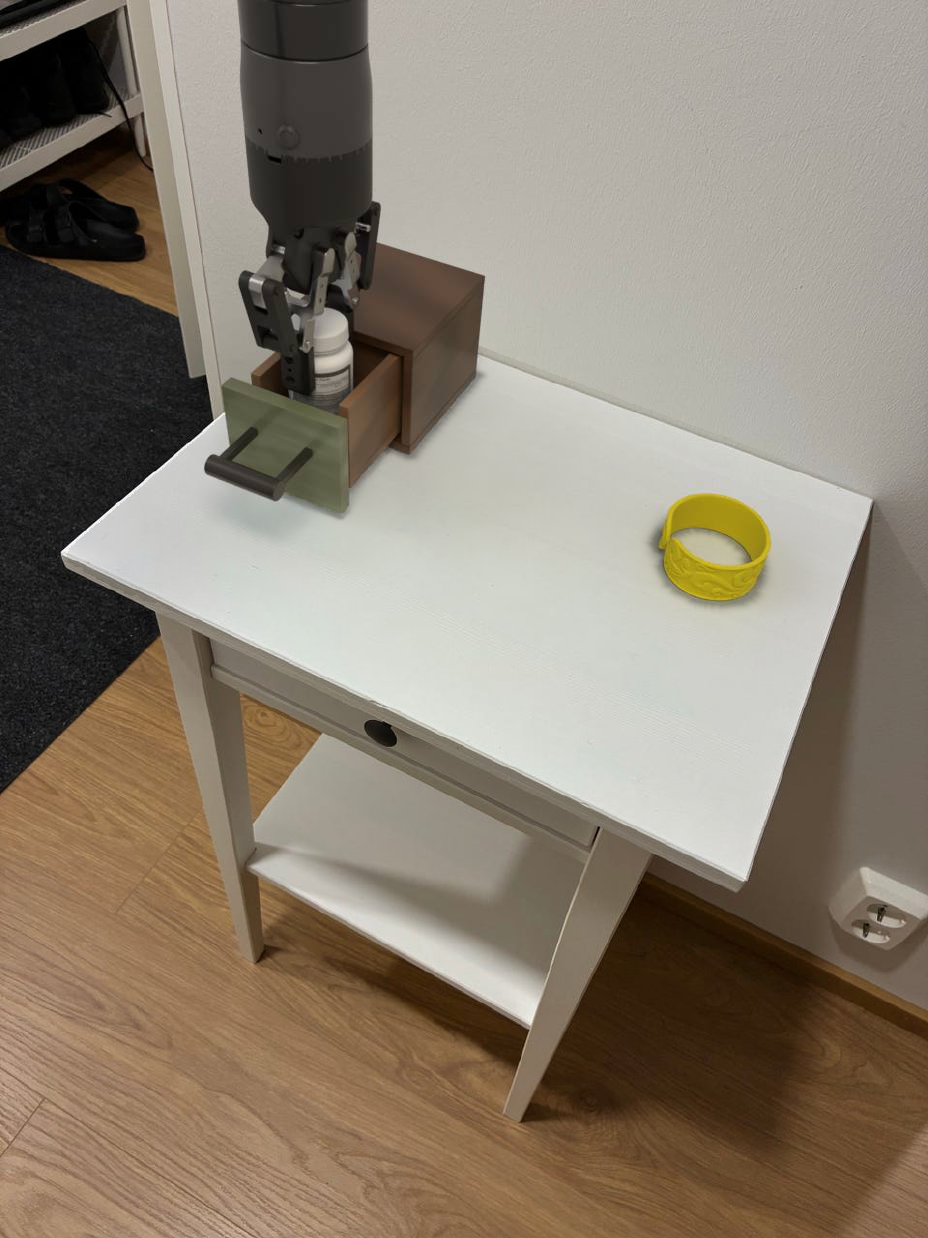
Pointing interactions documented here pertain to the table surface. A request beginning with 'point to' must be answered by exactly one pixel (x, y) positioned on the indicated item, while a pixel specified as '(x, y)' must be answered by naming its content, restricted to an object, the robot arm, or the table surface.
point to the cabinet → (422, 332)
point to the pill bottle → (329, 362)
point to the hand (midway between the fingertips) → (319, 370)
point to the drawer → (309, 431)
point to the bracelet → (722, 518)
